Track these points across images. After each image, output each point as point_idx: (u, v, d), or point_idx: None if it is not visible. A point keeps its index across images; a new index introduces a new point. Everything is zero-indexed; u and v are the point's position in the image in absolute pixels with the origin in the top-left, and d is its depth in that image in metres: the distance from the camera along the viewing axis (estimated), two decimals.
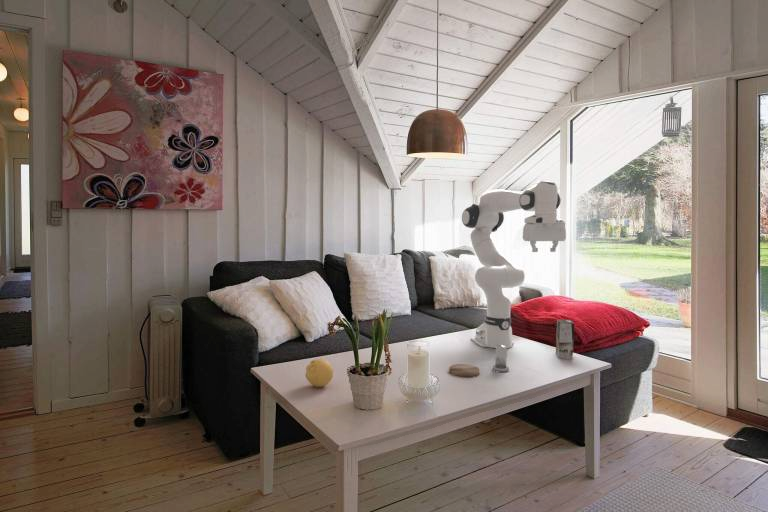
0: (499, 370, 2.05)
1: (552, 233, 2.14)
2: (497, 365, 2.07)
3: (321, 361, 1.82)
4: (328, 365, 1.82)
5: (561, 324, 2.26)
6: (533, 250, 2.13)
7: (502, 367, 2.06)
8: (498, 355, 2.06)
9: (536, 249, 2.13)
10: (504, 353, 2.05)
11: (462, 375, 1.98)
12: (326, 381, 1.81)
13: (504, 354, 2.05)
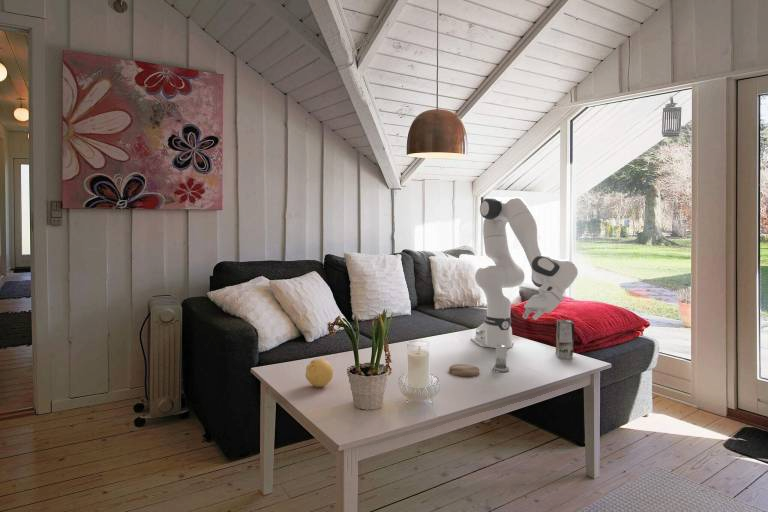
0: (499, 370, 2.05)
1: None
2: (497, 365, 2.07)
3: (321, 361, 1.82)
4: (328, 365, 1.82)
5: (561, 324, 2.26)
6: (535, 317, 2.04)
7: (502, 367, 2.06)
8: (498, 355, 2.06)
9: None
10: (504, 353, 2.05)
11: (462, 375, 1.98)
12: (326, 381, 1.81)
13: (504, 354, 2.05)
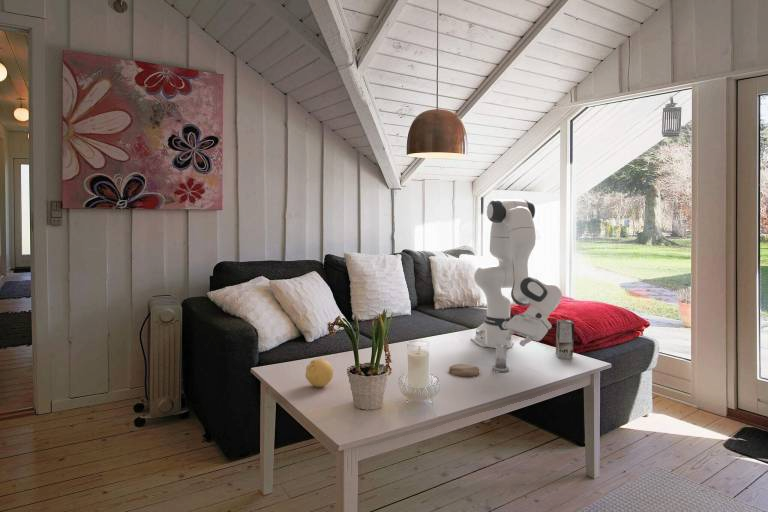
0: (499, 370, 2.05)
1: None
2: (497, 365, 2.07)
3: (321, 361, 1.82)
4: (328, 365, 1.82)
5: (561, 324, 2.26)
6: (523, 344, 2.04)
7: (502, 367, 2.06)
8: (498, 355, 2.06)
9: None
10: (504, 353, 2.05)
11: (462, 375, 1.98)
12: (326, 381, 1.81)
13: (504, 354, 2.05)
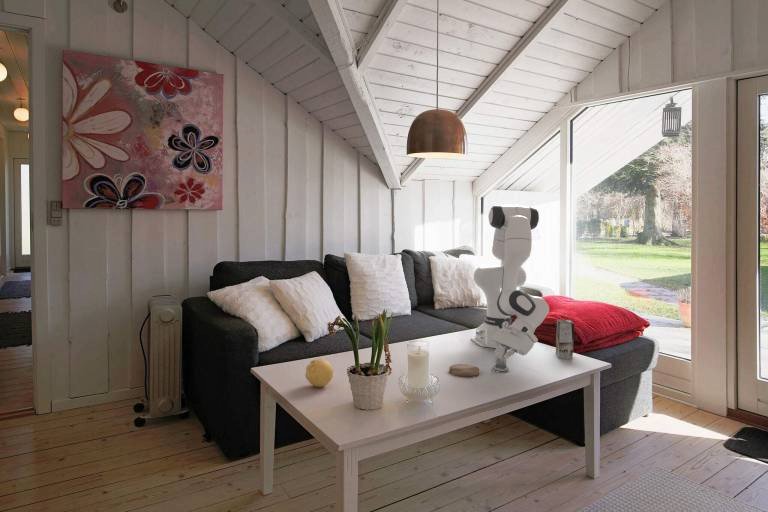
0: (499, 370, 2.05)
1: None
2: (497, 365, 2.07)
3: (321, 361, 1.82)
4: (328, 365, 1.82)
5: (561, 324, 2.26)
6: (506, 357, 2.04)
7: (502, 367, 2.06)
8: (499, 355, 2.06)
9: None
10: None
11: (462, 375, 1.98)
12: (326, 381, 1.81)
13: None
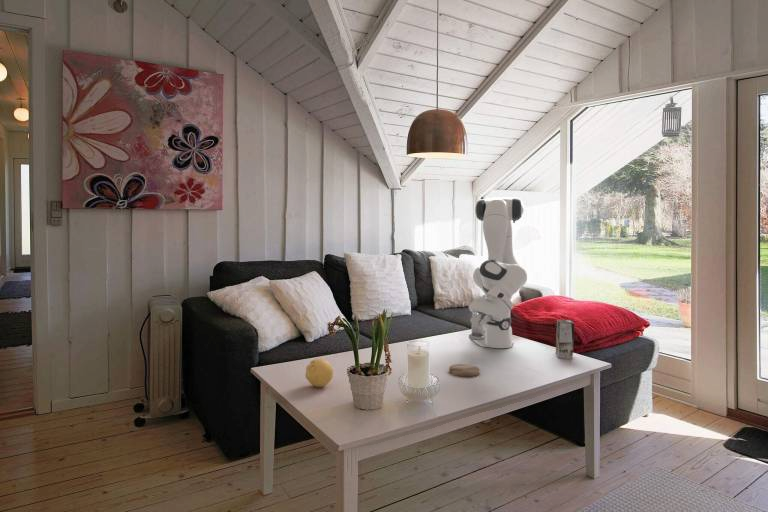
0: (475, 338, 2.00)
1: None
2: (473, 333, 2.02)
3: (321, 361, 1.82)
4: (328, 365, 1.82)
5: (561, 324, 2.26)
6: (482, 323, 1.99)
7: (478, 335, 2.01)
8: (474, 323, 2.01)
9: None
10: None
11: (462, 375, 1.98)
12: (326, 381, 1.81)
13: None
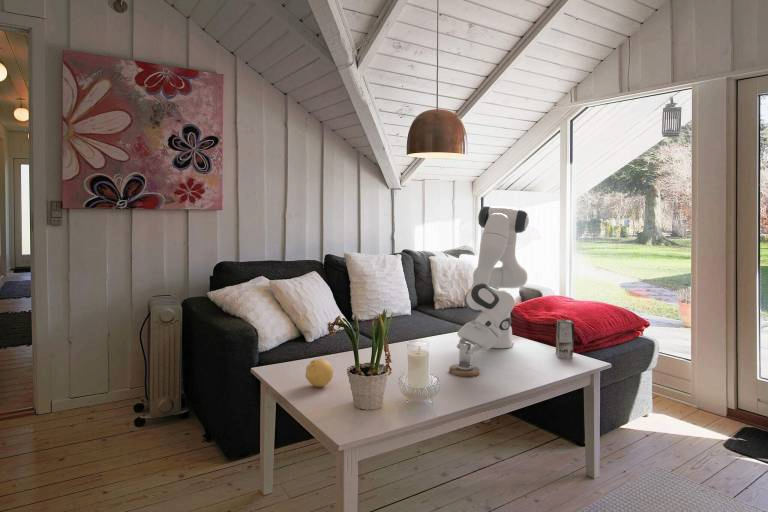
0: (462, 369, 2.01)
1: None
2: (460, 364, 2.02)
3: (321, 361, 1.82)
4: (328, 365, 1.82)
5: (561, 324, 2.26)
6: (471, 352, 1.98)
7: (465, 366, 2.01)
8: (462, 354, 2.01)
9: None
10: None
11: (462, 375, 1.98)
12: (326, 381, 1.81)
13: (467, 352, 2.01)
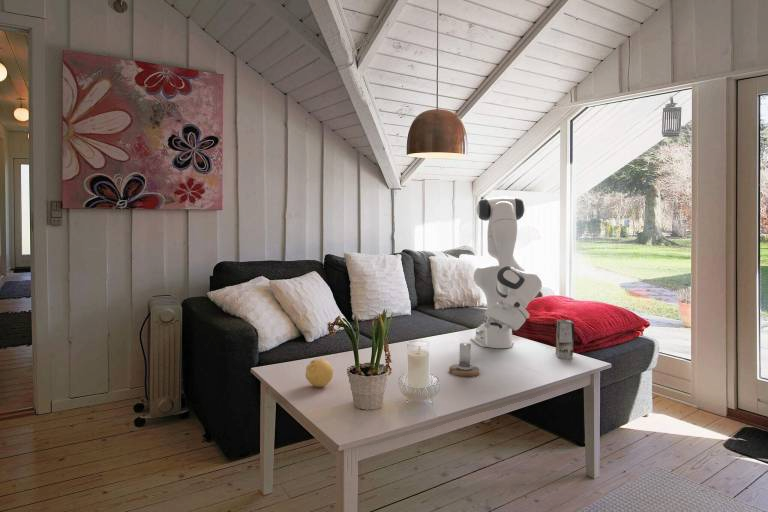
0: (462, 369, 2.01)
1: None
2: (460, 364, 2.02)
3: (321, 361, 1.82)
4: (328, 365, 1.82)
5: (561, 324, 2.26)
6: (500, 332, 2.04)
7: (465, 366, 2.01)
8: (462, 354, 2.01)
9: None
10: (467, 351, 2.01)
11: (462, 375, 1.98)
12: (326, 381, 1.81)
13: (467, 352, 2.01)
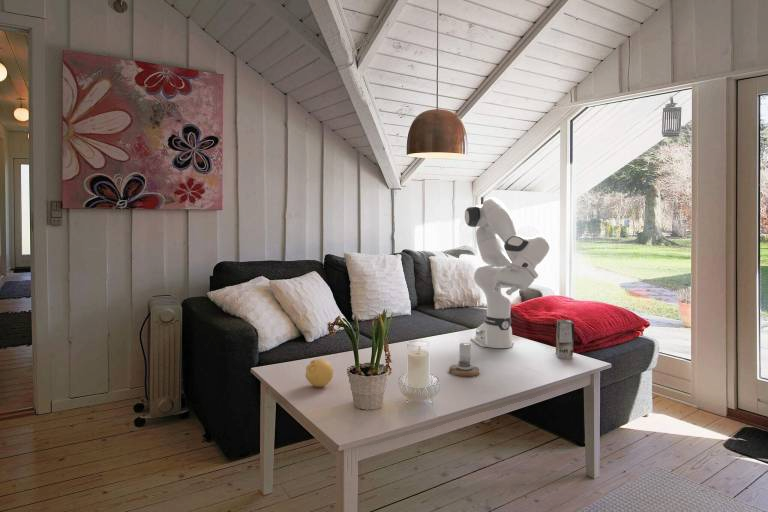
0: (462, 369, 2.01)
1: None
2: (460, 364, 2.02)
3: (321, 361, 1.82)
4: (328, 365, 1.82)
5: (561, 324, 2.26)
6: (509, 293, 2.05)
7: (465, 366, 2.01)
8: (462, 354, 2.01)
9: None
10: (467, 351, 2.01)
11: (462, 375, 1.98)
12: (326, 381, 1.81)
13: (467, 352, 2.01)
